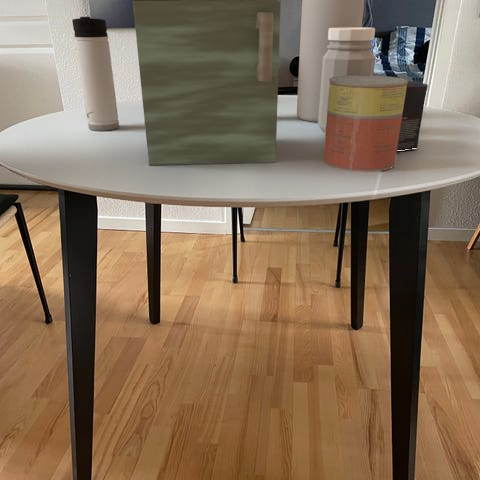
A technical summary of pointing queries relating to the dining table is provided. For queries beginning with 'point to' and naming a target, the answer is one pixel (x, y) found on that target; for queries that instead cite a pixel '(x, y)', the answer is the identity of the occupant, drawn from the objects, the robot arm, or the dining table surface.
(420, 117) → the small box
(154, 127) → the door
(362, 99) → the canned food
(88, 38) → the travel mug
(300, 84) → the cylinder vase
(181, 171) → the dining table surface
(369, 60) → the jar
